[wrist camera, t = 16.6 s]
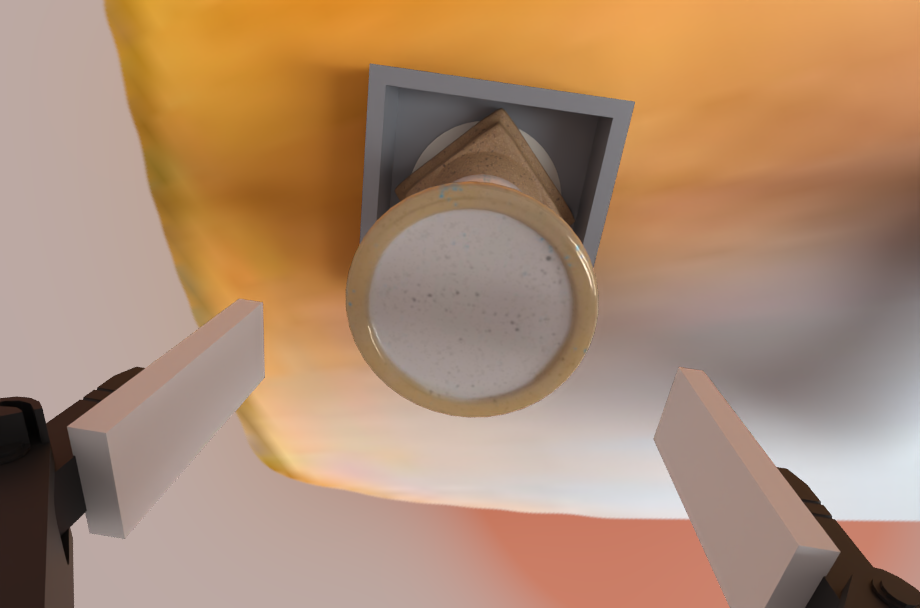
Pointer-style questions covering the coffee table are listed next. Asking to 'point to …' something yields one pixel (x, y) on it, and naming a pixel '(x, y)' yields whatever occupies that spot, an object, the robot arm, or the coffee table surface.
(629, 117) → the walled bin
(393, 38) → the coffee table surface
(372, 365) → the candle holder
